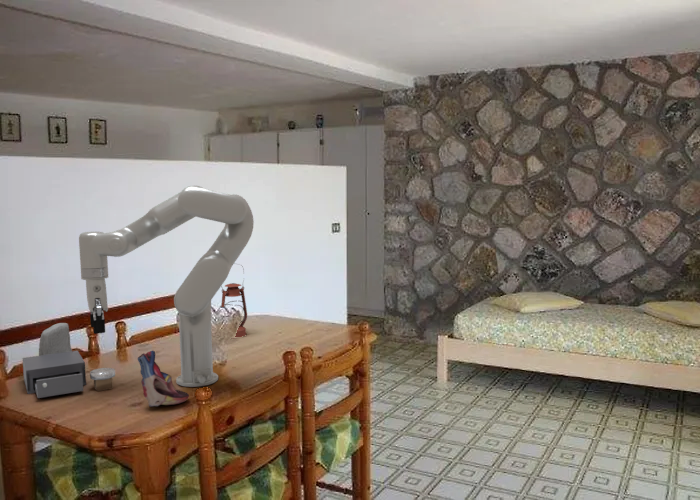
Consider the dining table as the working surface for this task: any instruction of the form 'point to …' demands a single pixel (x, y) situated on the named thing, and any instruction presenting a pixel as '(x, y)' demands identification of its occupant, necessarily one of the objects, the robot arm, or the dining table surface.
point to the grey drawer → (58, 384)
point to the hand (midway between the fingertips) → (97, 329)
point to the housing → (52, 367)
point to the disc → (102, 373)
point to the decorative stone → (55, 340)
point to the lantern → (233, 292)
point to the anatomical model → (158, 383)
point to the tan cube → (103, 384)
